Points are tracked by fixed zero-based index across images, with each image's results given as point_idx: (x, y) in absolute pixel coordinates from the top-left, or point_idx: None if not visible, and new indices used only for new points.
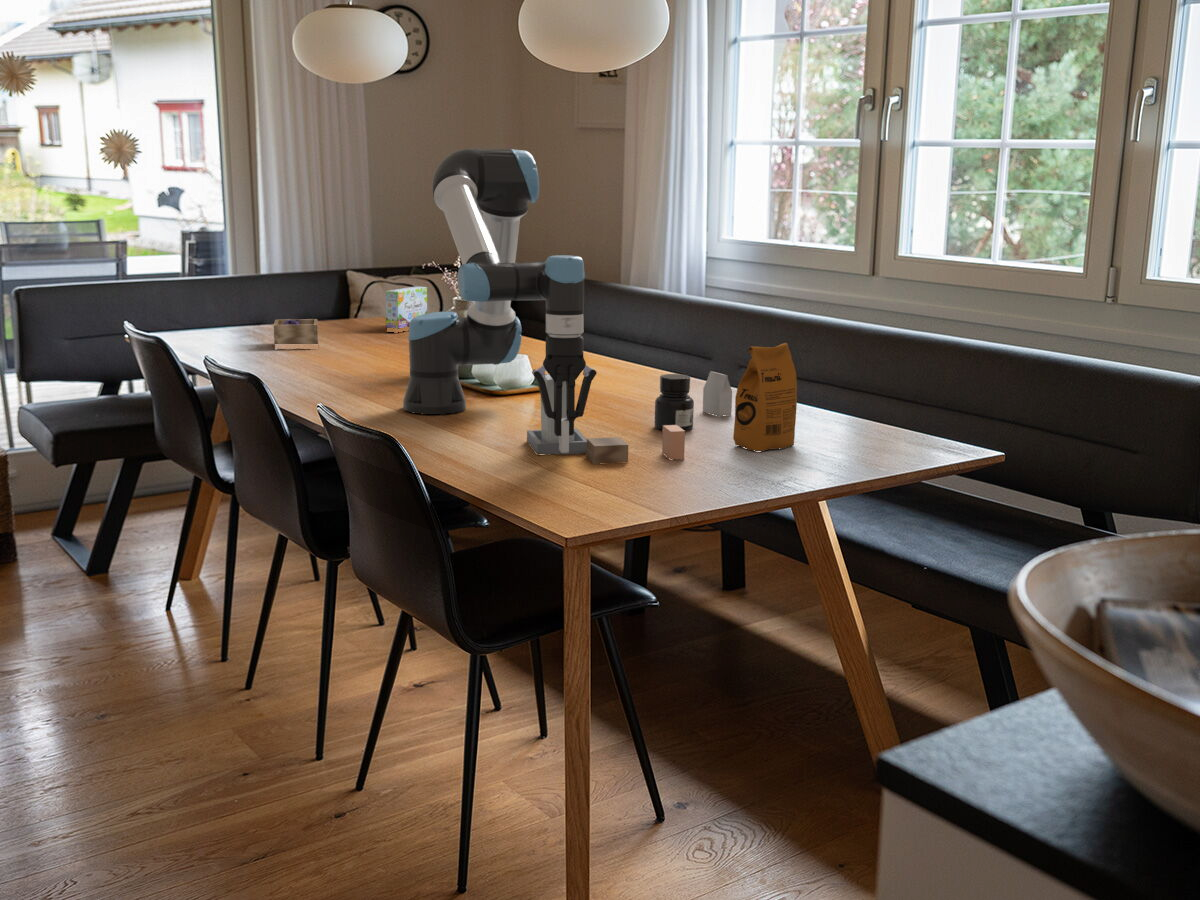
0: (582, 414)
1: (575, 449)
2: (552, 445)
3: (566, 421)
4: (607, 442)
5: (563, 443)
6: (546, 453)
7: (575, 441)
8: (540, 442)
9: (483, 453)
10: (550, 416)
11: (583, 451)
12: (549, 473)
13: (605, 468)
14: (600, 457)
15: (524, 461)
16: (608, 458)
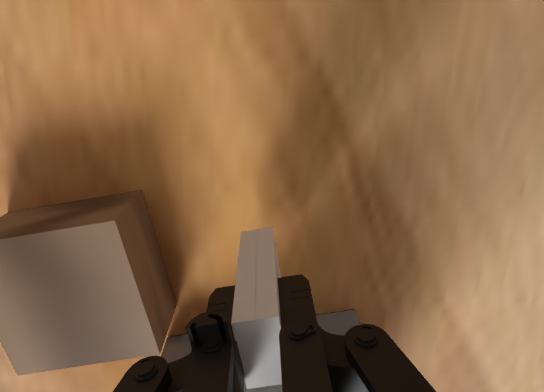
0: (132, 371)
1: None
2: None
3: (247, 319)
4: (59, 288)
5: (264, 248)
6: (322, 319)
7: None
8: None
9: (534, 336)
10: (360, 330)
11: (187, 339)
12: (330, 35)
13: (90, 122)
14: (107, 203)
15: (410, 232)
16: (75, 208)
